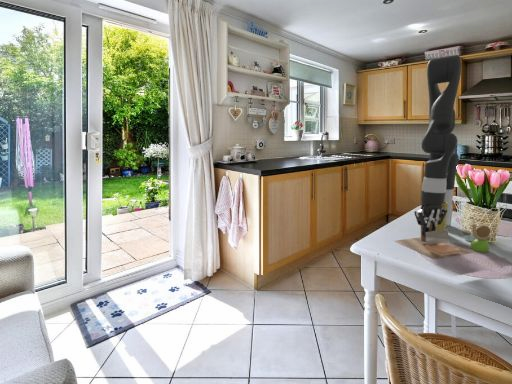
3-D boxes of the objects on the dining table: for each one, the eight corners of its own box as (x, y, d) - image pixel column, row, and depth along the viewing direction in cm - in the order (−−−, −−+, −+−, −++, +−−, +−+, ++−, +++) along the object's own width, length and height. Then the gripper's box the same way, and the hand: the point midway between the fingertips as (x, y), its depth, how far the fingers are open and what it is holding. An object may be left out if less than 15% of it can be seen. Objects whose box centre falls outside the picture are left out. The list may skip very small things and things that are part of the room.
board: (429, 239, 127) (429, 236, 126) (472, 256, 110) (473, 252, 110) (393, 244, 121) (393, 240, 120) (432, 263, 104) (433, 258, 104)
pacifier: (459, 244, 122) (478, 247, 119) (461, 229, 121) (480, 231, 118) (458, 239, 128) (476, 241, 125) (460, 224, 127) (478, 226, 124)
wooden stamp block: (413, 242, 117) (412, 223, 117) (433, 239, 120) (433, 221, 120) (426, 245, 111) (426, 225, 111) (448, 242, 114) (447, 222, 114)
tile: (442, 242, 115) (459, 249, 109) (441, 245, 116) (459, 252, 109) (425, 245, 113) (442, 252, 106) (424, 248, 113) (441, 255, 107)
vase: (447, 238, 128) (451, 204, 125) (430, 237, 129) (435, 203, 126) (441, 233, 134) (446, 200, 131) (426, 232, 135) (430, 200, 132)
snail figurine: (463, 250, 115) (468, 218, 113) (481, 250, 115) (486, 219, 113) (473, 256, 110) (478, 223, 108) (492, 256, 110) (497, 223, 107)
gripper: (439, 187, 119) (433, 231, 122) (410, 189, 114) (405, 234, 118) (457, 190, 112) (451, 237, 115) (427, 193, 107) (421, 241, 111)
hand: (428, 236), depth 116 cm, fingers closed on wooden stamp block
